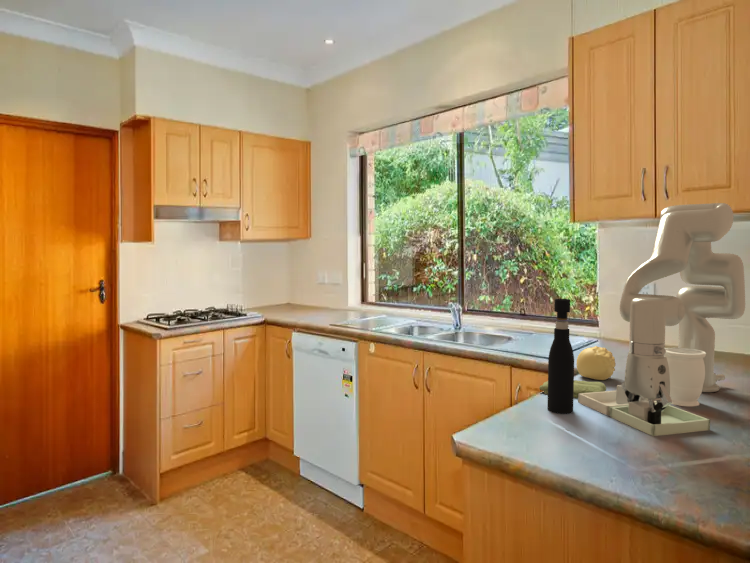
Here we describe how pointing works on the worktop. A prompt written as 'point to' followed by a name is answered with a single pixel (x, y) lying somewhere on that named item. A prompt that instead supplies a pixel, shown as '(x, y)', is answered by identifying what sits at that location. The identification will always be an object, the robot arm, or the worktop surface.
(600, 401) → the off-white dish
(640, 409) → the stone cube
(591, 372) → the sculpture
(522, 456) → the worktop surface
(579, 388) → the washcloth
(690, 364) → the jar
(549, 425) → the worktop surface
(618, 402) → the stone cube
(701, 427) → the sage tray
